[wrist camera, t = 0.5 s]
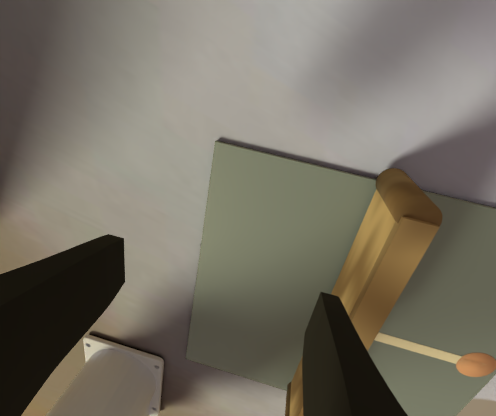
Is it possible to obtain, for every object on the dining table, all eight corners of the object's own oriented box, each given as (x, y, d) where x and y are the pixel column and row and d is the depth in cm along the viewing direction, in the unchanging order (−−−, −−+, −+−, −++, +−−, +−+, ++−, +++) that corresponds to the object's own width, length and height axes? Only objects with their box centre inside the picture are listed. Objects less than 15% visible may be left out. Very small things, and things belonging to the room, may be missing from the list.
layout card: (433, 433, 24) (435, 438, 24) (186, 355, 26) (185, 359, 26) (617, 237, 15) (623, 240, 15) (216, 140, 17) (214, 141, 17)
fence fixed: (303, 396, 25) (301, 470, 20) (285, 390, 25) (279, 462, 20) (340, 317, 20) (350, 388, 16) (318, 310, 20) (321, 379, 16)
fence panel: (343, 317, 20) (352, 381, 16) (320, 310, 20) (323, 372, 16) (413, 172, 15) (452, 210, 11) (382, 164, 15) (409, 199, 11)
